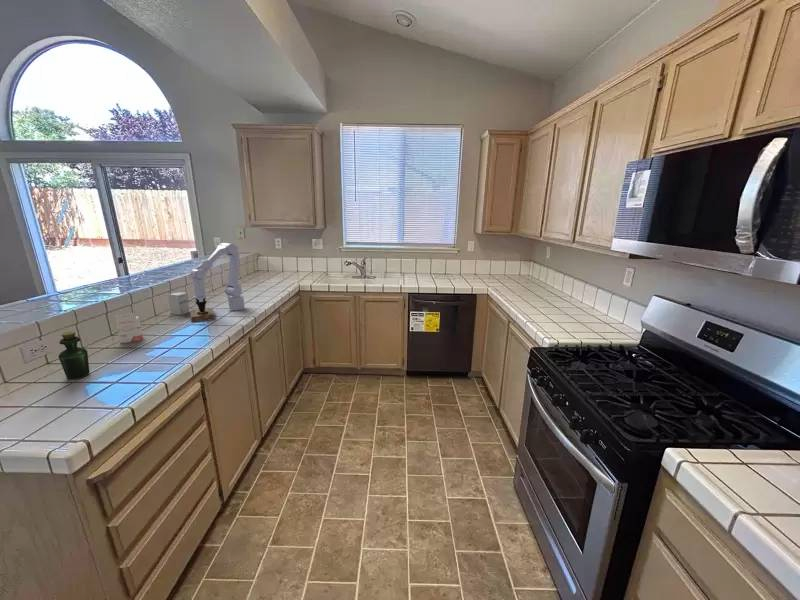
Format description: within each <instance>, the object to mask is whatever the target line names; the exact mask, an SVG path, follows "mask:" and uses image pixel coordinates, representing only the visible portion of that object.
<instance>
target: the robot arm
mask: <svg viewBox="0 0 800 600" xmlns="http://www.w3.org/2000/svg"><path fill="white" fill-rule="evenodd" d="M223 255H226V256H227V257H228V258H229V269H228V271H229V273H228V282H227V283H226V284H225V288H224V294H226V296H227V301H228V307H227V309H228V311H229V312H232V311H234V310H235V311H243V309H244V310H245V299H244V296H243V295H242V293H243V291H242V286H241V284H240V283H239V272H240V271H239V270H240V268H239V267H240V253H239V248H238V246H237V245H236V244H234V243H229V242H221V243H219V244H218V245H217V248H216V249H215V250H214V251H213V253H212V254H211V255H210V256H209V257H208V258H207V259H202V260H201V262H200V263H199V265H197V266H196V267H195V268H193V269H191V270H190V273H189V277H190V278H191V280H192V283H193V291H194V293H193V294H194V295H193V296H192V299H194V300H195V304H196V305H197V308H198V307H199V310H200V312H205V305H206V304H207V300H206V299H207V295H206V286H205V278H206V275H207V273H208V272H209V270H211V269H212V268H213V266H214V265H213V263H215V262H216V260H218V259H219V258H220V257H221V256H223ZM235 311H234V312H235Z"/></svg>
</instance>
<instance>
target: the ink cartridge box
mask: <svg viewBox="0 0 800 600" xmlns="http://www.w3.org/2000/svg"><path fill="white" fill-rule="evenodd" d="M114 317H115V325H116V330H117V334H118V339H119V343H120V344H124V343H132V342H140V341H142V340H143V339H144V336H143V332H142V325H141V322H140V321H141V320H140V317H139V315H137V314H136V313H135V312H130V313H120V314H115V315H114Z"/></svg>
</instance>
